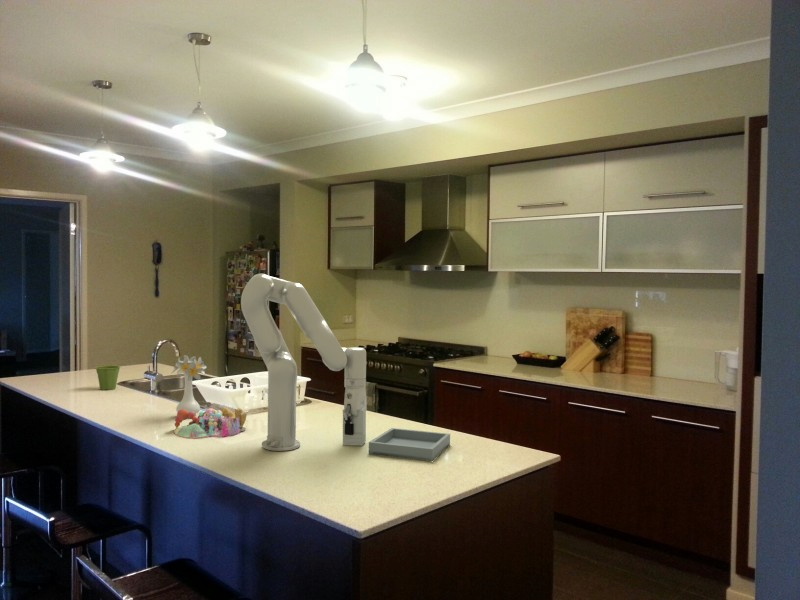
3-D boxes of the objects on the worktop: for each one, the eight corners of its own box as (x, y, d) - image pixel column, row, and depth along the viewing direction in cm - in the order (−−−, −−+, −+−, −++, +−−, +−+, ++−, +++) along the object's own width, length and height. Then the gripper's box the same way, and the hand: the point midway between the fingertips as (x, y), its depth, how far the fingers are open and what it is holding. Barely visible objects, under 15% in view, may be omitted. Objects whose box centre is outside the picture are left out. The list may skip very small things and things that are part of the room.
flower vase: (183, 422, 248) (184, 359, 247) (165, 414, 261) (165, 355, 261) (214, 418, 256) (215, 357, 255) (195, 410, 270) (196, 353, 269)
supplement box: (366, 441, 225) (366, 406, 224) (362, 446, 217) (363, 410, 217) (345, 440, 225) (346, 405, 225) (341, 445, 218) (342, 409, 218)
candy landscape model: (220, 421, 252) (220, 398, 252) (257, 431, 238) (257, 407, 237) (163, 432, 233) (163, 407, 233) (199, 443, 218) (199, 417, 218)
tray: (432, 461, 200) (432, 449, 200) (368, 454, 208) (368, 442, 208) (449, 445, 221) (450, 433, 221) (391, 438, 228) (391, 427, 228)
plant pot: (125, 387, 324) (125, 365, 323) (111, 391, 312) (111, 369, 311) (104, 386, 325) (104, 365, 325) (89, 390, 313) (89, 368, 313)
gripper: (355, 387, 211) (354, 438, 212) (374, 379, 228) (373, 427, 228) (334, 385, 214) (334, 436, 214) (355, 378, 230) (354, 425, 231)
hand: (354, 431), depth 221 cm, fingers closed on supplement box, 8 cm apart
